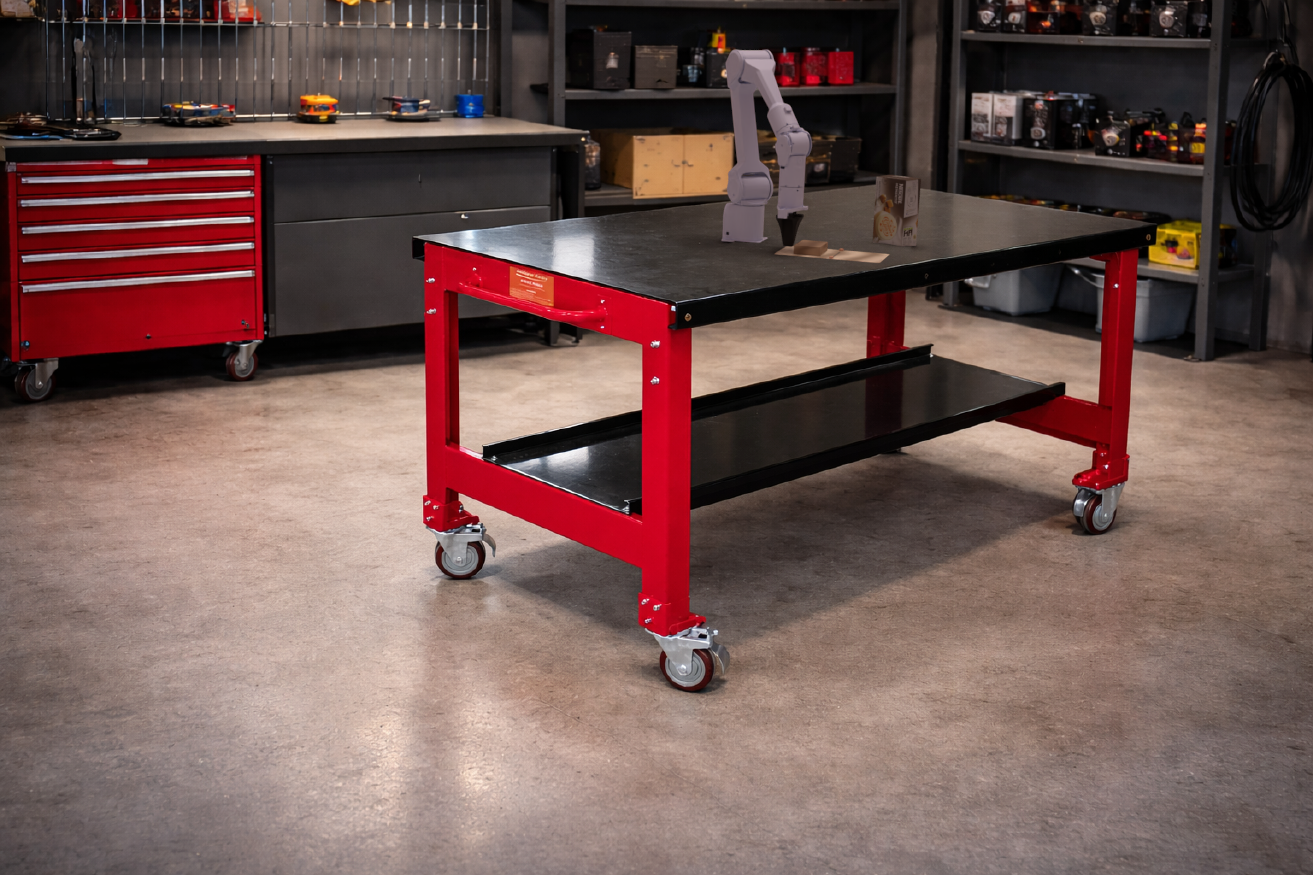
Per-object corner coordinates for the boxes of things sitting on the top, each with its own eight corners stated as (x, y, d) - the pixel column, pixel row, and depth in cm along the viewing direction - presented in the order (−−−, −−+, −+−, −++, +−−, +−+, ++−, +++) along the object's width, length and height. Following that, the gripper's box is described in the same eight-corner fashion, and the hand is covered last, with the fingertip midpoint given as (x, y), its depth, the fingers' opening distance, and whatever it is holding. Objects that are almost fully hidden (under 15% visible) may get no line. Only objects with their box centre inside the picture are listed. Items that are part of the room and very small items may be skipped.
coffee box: (917, 246, 326) (923, 178, 321) (901, 248, 321) (907, 180, 316) (886, 240, 332) (891, 174, 327) (870, 243, 328) (875, 176, 323)
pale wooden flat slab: (773, 256, 307) (774, 252, 307) (787, 248, 318) (787, 244, 318) (879, 265, 300) (879, 261, 300) (889, 256, 311) (889, 252, 310)
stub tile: (793, 254, 308) (794, 245, 307) (801, 248, 315) (802, 239, 314) (819, 256, 306) (820, 247, 305) (827, 250, 313) (827, 241, 312)
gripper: (800, 191, 300) (797, 252, 304) (816, 183, 313) (812, 242, 317) (769, 189, 302) (767, 249, 306) (786, 181, 315) (783, 240, 319)
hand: (788, 246), depth 312 cm, fingers closed
